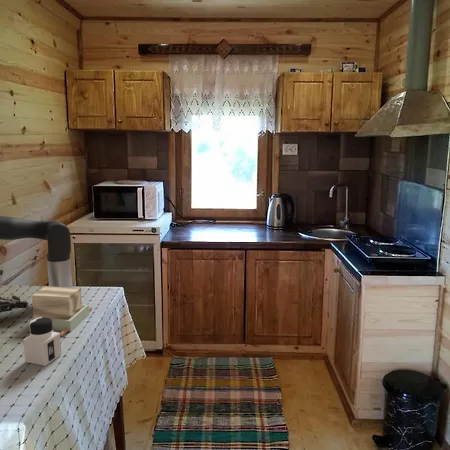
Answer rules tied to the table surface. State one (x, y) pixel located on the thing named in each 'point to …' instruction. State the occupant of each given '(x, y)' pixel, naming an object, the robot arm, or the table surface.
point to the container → (42, 342)
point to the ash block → (57, 302)
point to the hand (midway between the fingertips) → (27, 305)
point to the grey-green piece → (70, 321)
